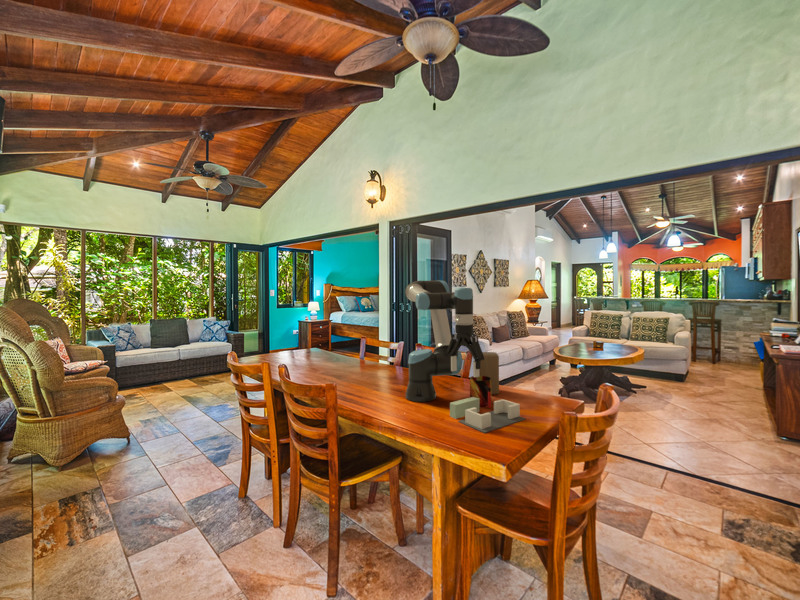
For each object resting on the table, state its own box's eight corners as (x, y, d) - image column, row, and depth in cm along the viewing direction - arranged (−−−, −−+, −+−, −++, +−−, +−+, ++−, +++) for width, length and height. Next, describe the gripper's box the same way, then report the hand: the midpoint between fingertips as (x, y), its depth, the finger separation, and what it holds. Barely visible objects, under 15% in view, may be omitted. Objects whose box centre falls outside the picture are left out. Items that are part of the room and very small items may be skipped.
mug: (489, 410, 157) (489, 383, 156) (465, 403, 167) (465, 378, 167) (503, 406, 163) (503, 380, 162) (479, 399, 173) (478, 374, 173)
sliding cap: (493, 413, 152) (493, 401, 152) (503, 410, 155) (503, 398, 155) (510, 419, 145) (510, 407, 144) (520, 415, 148) (520, 404, 148)
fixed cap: (465, 422, 143) (465, 409, 142) (474, 419, 145) (474, 407, 145) (481, 429, 135) (481, 416, 135) (491, 426, 138) (491, 413, 138)
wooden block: (477, 388, 191) (477, 351, 190) (496, 389, 190) (496, 351, 189) (479, 394, 181) (478, 355, 181) (499, 394, 180) (499, 355, 179)
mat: (458, 421, 144) (458, 420, 144) (498, 410, 157) (498, 409, 157) (484, 433, 132) (484, 432, 132) (525, 419, 146) (525, 418, 146)
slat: (449, 416, 150) (449, 402, 150) (473, 410, 158) (473, 396, 158) (455, 419, 148) (455, 404, 147) (479, 412, 155) (479, 398, 155)
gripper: (438, 322, 160) (439, 369, 161) (479, 326, 139) (480, 380, 140) (451, 321, 164) (451, 367, 165) (492, 325, 143) (493, 378, 144)
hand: (464, 373), depth 152 cm, fingers open, 13 cm apart
